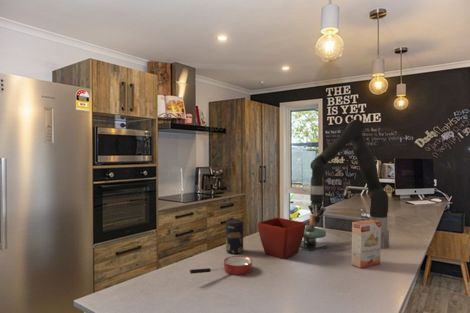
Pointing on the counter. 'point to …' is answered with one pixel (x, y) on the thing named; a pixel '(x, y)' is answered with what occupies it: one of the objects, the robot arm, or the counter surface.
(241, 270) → the frying pan
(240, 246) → the canister
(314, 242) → the pedestal
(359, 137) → the robot arm
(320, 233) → the handwheel
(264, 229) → the plant pot
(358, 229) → the cracker box
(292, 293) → the counter surface
